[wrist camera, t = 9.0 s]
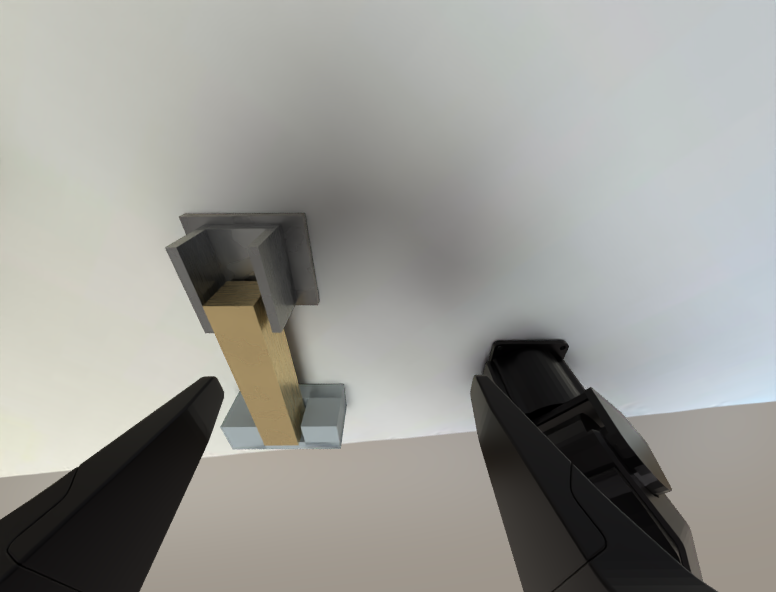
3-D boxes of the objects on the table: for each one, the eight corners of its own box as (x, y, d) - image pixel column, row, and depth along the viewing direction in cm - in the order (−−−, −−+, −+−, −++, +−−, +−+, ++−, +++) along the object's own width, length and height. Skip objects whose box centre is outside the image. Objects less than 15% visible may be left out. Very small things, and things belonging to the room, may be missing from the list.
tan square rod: (270, 280, 19) (253, 305, 16) (306, 414, 27) (298, 445, 25) (226, 281, 19) (202, 306, 17) (275, 415, 27) (264, 445, 25)
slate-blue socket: (343, 384, 28) (336, 426, 24) (346, 406, 30) (340, 448, 26) (243, 384, 28) (220, 427, 24) (252, 406, 30) (232, 449, 26)
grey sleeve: (304, 212, 19) (283, 237, 15) (319, 300, 22) (305, 338, 19) (184, 213, 19) (132, 238, 15) (219, 301, 22) (185, 339, 19)
